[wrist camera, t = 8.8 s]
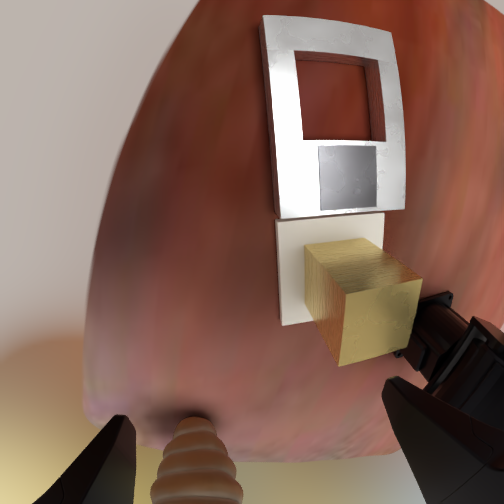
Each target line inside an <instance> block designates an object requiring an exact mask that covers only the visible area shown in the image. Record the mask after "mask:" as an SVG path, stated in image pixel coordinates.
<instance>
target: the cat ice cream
mask: <svg viewBox="0 0 504 504" xmlns="http://www.w3.org/2000/svg"><path fill="white" fill-rule="evenodd" d="M235 478H236V467H235V465H234V463H233V461H232V460H231V459H230V458H229V457H228V452H227V449H226V447H225V445H224V444H223V442H222V441H221V440H220V439H219V438H218V437H217V434H216V430H215V428H214V426H213V425H212V423H211V422H210V421H209V420H207V419H204V418H200V417H188V418H185V419H184V420H182V421H181V422H180V423H179V424H178V425H177V427H176V429H175V431H174V435H173V440H172V441H171V442H170V443H169V444H168V445H167V446H166V447H165V449H164V451H163V460H162V462H161V463H160V465H159V468H158V472H157V480H156V481H155V482H154V483H153V485H152V486H151V491H150V496H151V500H152V503H153V504H242V500H243V490H242V487H241V485H240V484H239V483H238V482H237V481H236V480H235Z"/></svg>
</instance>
